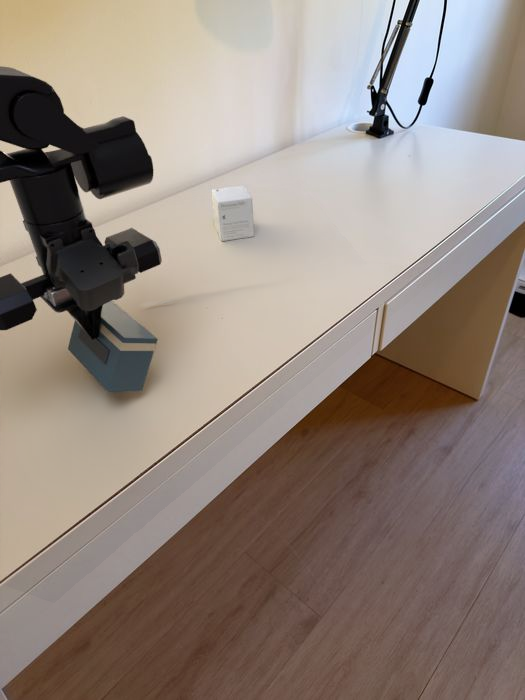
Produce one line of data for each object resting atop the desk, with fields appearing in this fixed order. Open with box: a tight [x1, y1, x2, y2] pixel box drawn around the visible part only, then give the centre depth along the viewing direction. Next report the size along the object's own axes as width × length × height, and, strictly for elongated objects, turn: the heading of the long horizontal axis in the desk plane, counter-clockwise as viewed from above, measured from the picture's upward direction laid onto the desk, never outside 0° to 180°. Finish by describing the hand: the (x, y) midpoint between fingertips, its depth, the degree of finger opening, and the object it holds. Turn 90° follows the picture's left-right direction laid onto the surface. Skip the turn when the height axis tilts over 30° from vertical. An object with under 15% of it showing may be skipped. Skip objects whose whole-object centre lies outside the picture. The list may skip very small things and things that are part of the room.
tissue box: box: [67, 300, 159, 394], centre depth 64 cm, size 11×5×7 cm, turn 41°
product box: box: [211, 185, 255, 242], centre depth 93 cm, size 6×6×7 cm
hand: (93, 337), depth 62 cm, fingers closed
